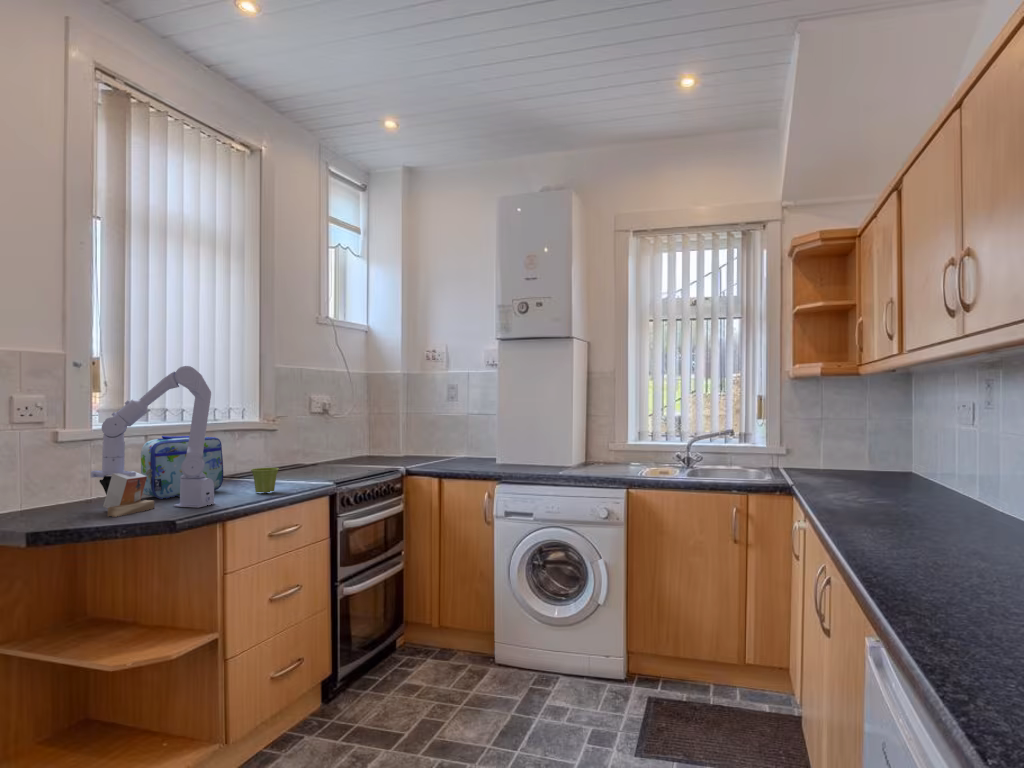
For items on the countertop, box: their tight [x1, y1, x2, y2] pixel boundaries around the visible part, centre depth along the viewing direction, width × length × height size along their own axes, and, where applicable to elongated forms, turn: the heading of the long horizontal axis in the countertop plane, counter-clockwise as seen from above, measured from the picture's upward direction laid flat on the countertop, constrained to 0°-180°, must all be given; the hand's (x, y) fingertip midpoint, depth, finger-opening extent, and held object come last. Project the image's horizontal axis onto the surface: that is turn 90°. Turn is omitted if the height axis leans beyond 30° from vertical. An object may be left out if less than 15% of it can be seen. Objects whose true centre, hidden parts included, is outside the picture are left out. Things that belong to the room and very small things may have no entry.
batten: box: [107, 499, 155, 518], centre depth 188 cm, size 3×14×2 cm, turn 167°
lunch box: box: [140, 435, 224, 500], centre depth 223 cm, size 26×11×21 cm, turn 146°
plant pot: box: [250, 467, 280, 493], centre depth 228 cm, size 9×9×9 cm
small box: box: [102, 470, 147, 509], centre depth 191 cm, size 8×6×10 cm
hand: (112, 501), depth 192 cm, fingers closed
